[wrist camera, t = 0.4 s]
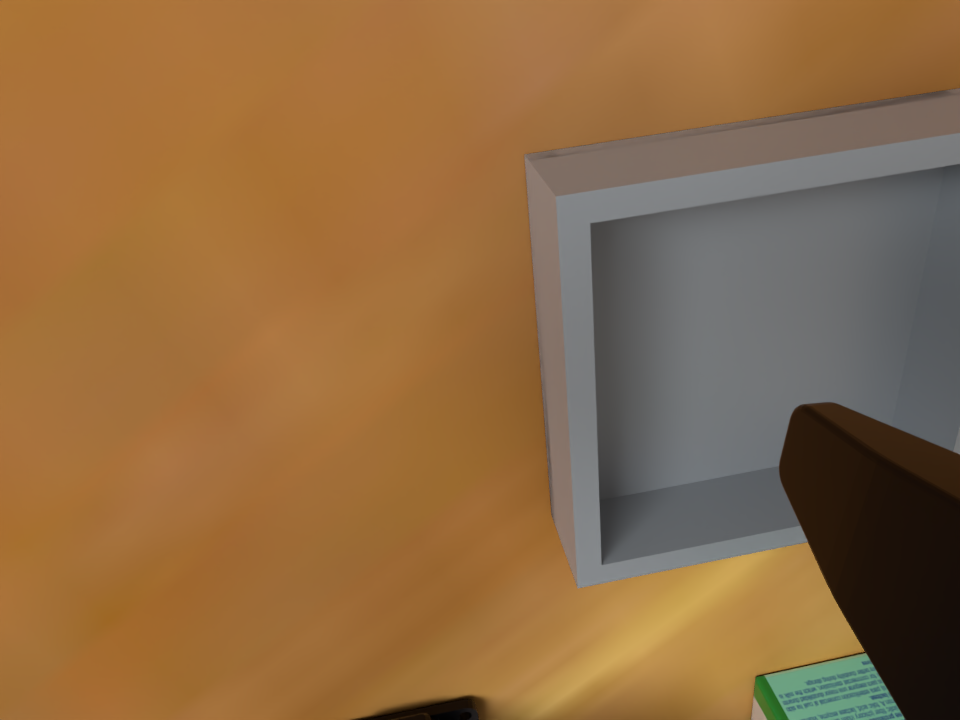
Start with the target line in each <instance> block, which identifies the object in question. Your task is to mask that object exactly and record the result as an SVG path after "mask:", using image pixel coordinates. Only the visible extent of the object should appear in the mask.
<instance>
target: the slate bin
mask: <svg viewBox="0 0 960 720" xmlns="http://www.w3.org/2000/svg"><path fill="white" fill-rule="evenodd" d="M525 168H526V182H527V195H528V208H529V222H530V235H531V248H532V261H533V275H534V288H535V301H536V315H537V328H538V341H539V354H540V368H541V381H542V394H543V408H544V421H545V434H546V447H547V461H548V474H549V487H550V501H551V514H552V518H553V520H554V523H555V526H556V529H557V532H558V534H559V537H560V540H561V543H562V545H563V548H564V551H565V554H566V557H567V559H568V562H569V565H570V568H571V571H572V573H573V576H574V579H575V582H576V585H577V587H578V588H582V587H587V586H592V585H597V584H602V583H607V582H612V581H616V580H621V579H626V578H631V577H636V576H641V575H646V574H651V573H656V572H661V571H666V570H671V569H676V568H681V567H686V566H691V565H696V564H701V563H706V562H711V561H716V560H721V559H726V558H731V557H736V556H741V555H746V554H751V553H756V552H761V551H766V550H771V549H776V548H781V547H786V546H791V545H795V544H800V543H805V542H808V541H807V539H806V537H805V535H804V532H803V530H802V528H801V526H800V524H799V521H798V519H797V517H796V515H795V513H794V510H793V508H792V506H791V504H790V502H789V499H788V497H787V495H786V493H785V491H784V488H783V486H782V483H781V480H780V476H779V461H780V457H781V453H782V449H783V445H784V441H785V437H786V433H787V429H788V425H789V421H790V417H791V414H792V412H793V411H794V409H795V408H796V407H797V406H799V405H801V404H809V403H821V402H834V403H837V404H840V405H842V406H844V407H847V408H849V409H852V410H854V411H857V412H859V413H861V414H864V415H866V416H869V417H871V418H873V419H876V420H878V421H881V422H883V423H885V424H888V425H890V426H893V427H895V428H898V429H900V430H902V431H905V432H907V433H910V434H912V435H914V436H917V437H919V438H922V439H924V440H927V441H929V442H931V443H934V444H936V445H939V446H941V447H943V448H946V449H948V450H951V451H953V452H956V453H958V454H960V88H958V89H952V90H945V91H939V92H932V93H926V94H919V95H912V96H906V97H899V98H893V99H886V100H880V101H873V102H866V103H860V104H853V105H847V106H840V107H834V108H827V109H820V110H814V111H807V112H801V113H794V114H788V115H781V116H775V117H768V118H761V119H755V120H748V121H742V122H735V123H729V124H722V125H715V126H709V127H702V128H696V129H689V130H683V131H676V132H669V133H663V134H656V135H650V136H643V137H637V138H630V139H623V140H617V141H610V142H604V143H597V144H591V145H584V146H578V147H571V148H564V149H558V150H551V151H545V152H538V153H532V154H525Z"/></svg>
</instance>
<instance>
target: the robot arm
mask: <svg viewBox="0 0 960 720" xmlns="http://www.w3.org/2000/svg"><path fill="white" fill-rule="evenodd" d="M779 476H780V480H781V483H782V486H783V488H784V491H785V493H786V495H787V497H788V499H789V502H790V504H791V506H792V508H793V510H794V513H795V515H796V517H797V519H798V521H799V524H800V526H801V528H802V530H803V532H804V535H805V537H806V539H807V541H808V543H809V546H810V548H811V550H812V552H813V554H814V557H815V559H816V561H817V563H818V565H819V568H820V570H821V572H822V574H823V576H824V579H825V581H826V583H827V585H828V587H829V589H830V591H831V593H832V595H833V597H834V599H835V600H836V602H837V604H838V606H839V608H840V609H841V611H842V613H843V615H844V617H845V618H846V620H847V622H848V623H849V625H850V627H851V628H852V630H853V632H854V634H855V635H856V637H857V639H858V640H859V642H860V644H861V645H862V647H863V649H864V651H865V652H866V654H867V656H868V657H869V659H870V661H871V662H872V664H873V666H874V668H875V669H876V671H877V673H878V674H879V676H880V678H881V679H882V681H883V683H884V685H885V686H886V688H887V690H888V691H889V693H890V695H891V696H892V698H893V700H894V702H895V703H896V705H897V707H898V708H899V710H900V712H901V713H902V715H903V717H904V719H905V720H960V454H958V453H956V452H953V451H951V450H948V449H946V448H943V447H941V446H939V445H936V444H934V443H931V442H929V441H927V440H924V439H922V438H919V437H917V436H914V435H912V434H910V433H907V432H905V431H902V430H900V429H898V428H895V427H893V426H890V425H888V424H885V423H883V422H881V421H878V420H876V419H873V418H871V417H869V416H866V415H864V414H861V413H859V412H857V411H854V410H852V409H849V408H847V407H844V406H842V405H840V404H837V403H834V402H821V403H809V404H801V405H799V406H797V407H796V408H795V409H794V411H793V412H792V414H791V417H790V421H789V425H788V429H787V433H786V437H785V441H784V445H783V449H782V453H781V457H780V461H779ZM369 720H479V718H478V713H477V707H476V704H475V702H474V701H472V700H468V699H466V700H459V701H455V702H450V703H445V704H440V705H436V706H431V707H426V708H421V709H417V710H412V711H407V712H402V713H398V714H393V715H388V716H383V717H379V718H374V719H369Z"/></svg>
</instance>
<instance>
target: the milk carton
mask: <svg viewBox="0 0 960 720" xmlns="http://www.w3.org/2000/svg"><path fill="white" fill-rule="evenodd" d="M751 720H905V719H904V717H903V715H902V713H901V712H900V710H899V708H898V707H897V705H896V703H895V702H894V700H893V698H892V696H891V695H890V693H889V691H888V690H887V688H886V686H885V685H884V683H883V681H882V679H881V678H880V676H879V674H878V673H877V671H876V669H875V668H874V666H873V664H872V662H871V661H870V659H869V657H868V656H867V654H866V653H863V654H858V655H854V656H849V657H845V658H840V659H836V660H831V661H827V662H822V663H818V664H813V665H808V666H804V667H799V668H795V669H790V670H786V671H781V672H777V673H772V674H768V675H763V676H759V677H756V679H755V688H754V698H753V707H752V716H751Z"/></svg>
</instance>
